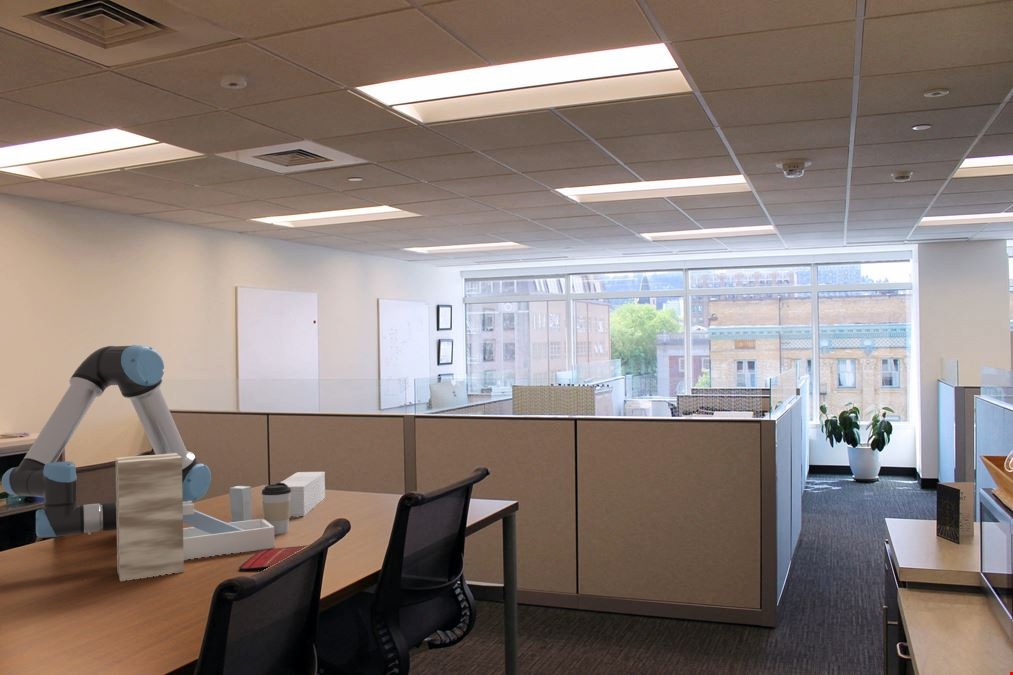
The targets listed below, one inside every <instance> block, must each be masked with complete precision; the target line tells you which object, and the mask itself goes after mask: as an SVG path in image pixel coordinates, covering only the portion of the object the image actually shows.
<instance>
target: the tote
mask: <svg viewBox="0 0 1013 675" xmlns="http://www.w3.org/2000/svg"><path fill="white" fill-rule="evenodd" d="M227 523H228V524H231V525H233V526H236V527H238V528H241V529H243V530H242V531H234V532H226V533H218V534H210V533H208V532H205V531H203V530H200V529H198V528H195V527H193V526H190V527H183V557H184V561H188V559H191V560H195V559H194V558H198V559H202V558H201V557H205V558H210V557H209V556H212V557H216V556H215V555H219V556H223V555H222V554H226V555H232V554H231V553H233V554H240V552H241V553H248V552H253V551H262V550H266V549H276V548H275V547H276V546H275V545H276V544H275V543H276V542H275V540H276V539H275V534H274V526H272V525H271V524H270V523H268V522H267V521H266V520H265V519H264V518H257V519H253V520H247V521H239V522H231V521H230V522H227Z"/></svg>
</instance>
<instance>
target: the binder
mask: <svg viewBox="0 0 1013 675" xmlns="http://www.w3.org/2000/svg"><path fill="white" fill-rule="evenodd" d="M308 545H309V544H308ZM308 545H307V544H306V545H299V546H289V547H277V548H269V549H262V550H259V551H258V552H257V553H255V554H253V555H252V556H251V557H250V558H249V559H247V560H245V562H243V563H242V564H241V565H240V566H239V567H238V568H239V570H238V571H239V572H262V571H261V570H264V569H266V568H268V567H270V566H272V565H274V564H276V563H278V562H279V561H281V560H283V559H285V558H287V557H288V556H290V555H292V554H294V553H295V552H297V551H299V550H301V549H302V548H304V547H306V546H308ZM258 570H259V571H258Z"/></svg>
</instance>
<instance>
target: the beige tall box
mask: <svg viewBox="0 0 1013 675" xmlns="http://www.w3.org/2000/svg"><path fill="white" fill-rule="evenodd" d="M115 500H116V501H115V502H116V520H117V529H116V566H117V568H116V570H117V575H118V578H119V581H120V582H125V581H126V580H127V581H133V579H134V580H139V579H140V578H141V579H148V578H154V577H159V575H161V576H166V575H165V574H168V575H173V574H172V573H175V574H179V573H180V572H181V573H184V572H185V570H184V569H185V567H184V566H185V565H184V561H185V560H184V557H183V528H184V523H183V502H184V501H183V498H182V457H181V456H179V455H178V454H177V453H170V454H157V455H156V454H149V455H146V454H145V455H135V456H121V457H115ZM181 573H180V574H181ZM153 576H154V577H153ZM147 577H148V578H147ZM141 579H140V580H141Z"/></svg>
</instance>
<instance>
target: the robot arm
mask: <svg viewBox="0 0 1013 675" xmlns="http://www.w3.org/2000/svg"><path fill="white" fill-rule="evenodd" d="M164 369H165V362H164V360H163V357H162V355H161V354H160V353H159V351H157V349H155V348H153V347H151V346H147V345H141V344H133V345H109V346H103V347H101V348H98V349H97V350H95V351H93V352H92V353H90V354H89V355H88V356H87V357H86V358H85V359H84V360H83V362H81V363H80V365H79V366H78V367H77V368H76V369H75V371H74V372H73V374H72V375H71V377H70V379H69V384H70V386H69V387H68V388H67V390H66V392H65V393H64V395H63V396H62V398H61V399H60V401H59V402H58V404H57V406H56V408H54V411H53V412H52V413H51V415H50V417H49V418H48V419H47V421H46V423H45V425H44V426H43V428H42V429H41V431H40V433H39V434H38V436H37V437H36V439H35V440H34V442H33V444H32V445H30V446H31V447H30V448H29V450H28V451H27V453H26V454H25V456H24V457H23V459H22V461H21V462H20V464H19V465H18V466H16V467H11V468H10V469H7V471H6V472H5V473H4V474H3V475H2V478H1V487H2V488H3V491H4V492H6V494H8V495H12V496H18V497H35V498H43V499H44V500H43V507H42V508H40V509H37V510H36V511H35V534H36V536H37V537H38V538H53V537H54V538H58V537H63V536H66V537H67V536H72V535H79V534H80V535H81V534H86V533H87V535H89V536H90V535H92V533H97V532H100V531H101V530H102V531H104V532H108V531H115V530H116V531H117V520H116V501H113V502H111V501H110V502H104V503H102V504H100V503H89V504H80V505H77V479H78V478H77V470H76V464H75V463H74V462H72V461H58V459H59V458H60V456H61V455H62V453H63V451H64V450H65V448H66V447H67V445H68V444H69V441H70V440H71V438H72V437H73V435H74V433H75V431H76V430H77V429H78V427H79V425H80V424H81V422H82V421H83V419H84V417H85V415H86V414H87V412H88V411H89V409H90V408H91V406H92V404H93V403H94V401H95V399H96V398H98V397H101V396H102V395H103V393H104V392H105V390H106V389H107V388H108V387H111V386H117V387H118V389H119V391H120V394H121V395H122V397H123V398H126V399H129V400H130V401H131V403H132V406H133V408H134V410H135V412H136V415H137V417H138V418H139V420H140V423H141V425H142V427H143V430H144V432H145V434H146V436H147V439H148V441H149V444H150V446H151V447H152V449H153V451H154V455H157V454H170V453H177V454H178V455H179V456H181V457H182V498H183V515H189V514H194V510H195V504H194V503H193V502H195V501H199V500H201V499H202V498H203V497H204V496H205V495H206V494H207V492H208V490H209V488H210V485H211V482H212V474H211V470H210V468H209V466H208V465H206V464H204V463H198V460H197V458H196V455H195V454H194V452H192V451H188V449H187V448H186V445H185V444H184V441H183V438H182V436H181V434H180V432H179V429H178V427H177V425H176V423H175V421H174V418H173V416H172V414H171V410H170V409H169V406H168V404H167V402H166V400H165V397H164V395H163V393H162V390H161V388H160V387H161V385H162V384H163V380H162V379H163V376H164V373H165V371H163V370H164Z"/></svg>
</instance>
